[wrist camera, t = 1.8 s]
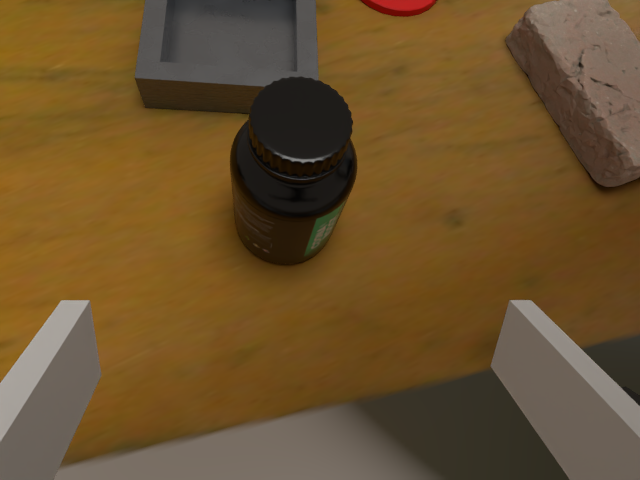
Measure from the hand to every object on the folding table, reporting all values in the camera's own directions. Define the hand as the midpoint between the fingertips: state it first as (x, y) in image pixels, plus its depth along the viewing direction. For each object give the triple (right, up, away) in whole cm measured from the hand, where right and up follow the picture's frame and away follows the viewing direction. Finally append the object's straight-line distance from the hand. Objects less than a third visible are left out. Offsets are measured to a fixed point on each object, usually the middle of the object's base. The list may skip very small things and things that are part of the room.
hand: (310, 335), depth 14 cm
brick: (+23, +15, +26) cm, 38 cm away
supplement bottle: (-2, +4, +18) cm, 18 cm away
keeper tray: (-7, +19, +22) cm, 30 cm away
